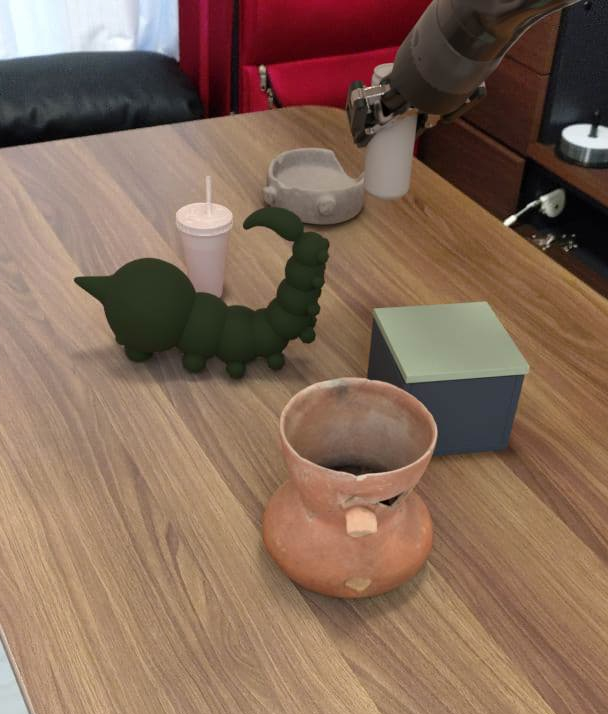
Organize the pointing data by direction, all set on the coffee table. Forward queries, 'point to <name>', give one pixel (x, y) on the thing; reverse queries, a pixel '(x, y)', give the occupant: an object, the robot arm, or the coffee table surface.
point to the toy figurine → (215, 305)
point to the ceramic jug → (352, 488)
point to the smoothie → (205, 242)
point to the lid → (449, 342)
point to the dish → (313, 186)
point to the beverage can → (389, 153)
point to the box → (455, 403)
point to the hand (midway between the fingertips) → (383, 135)
